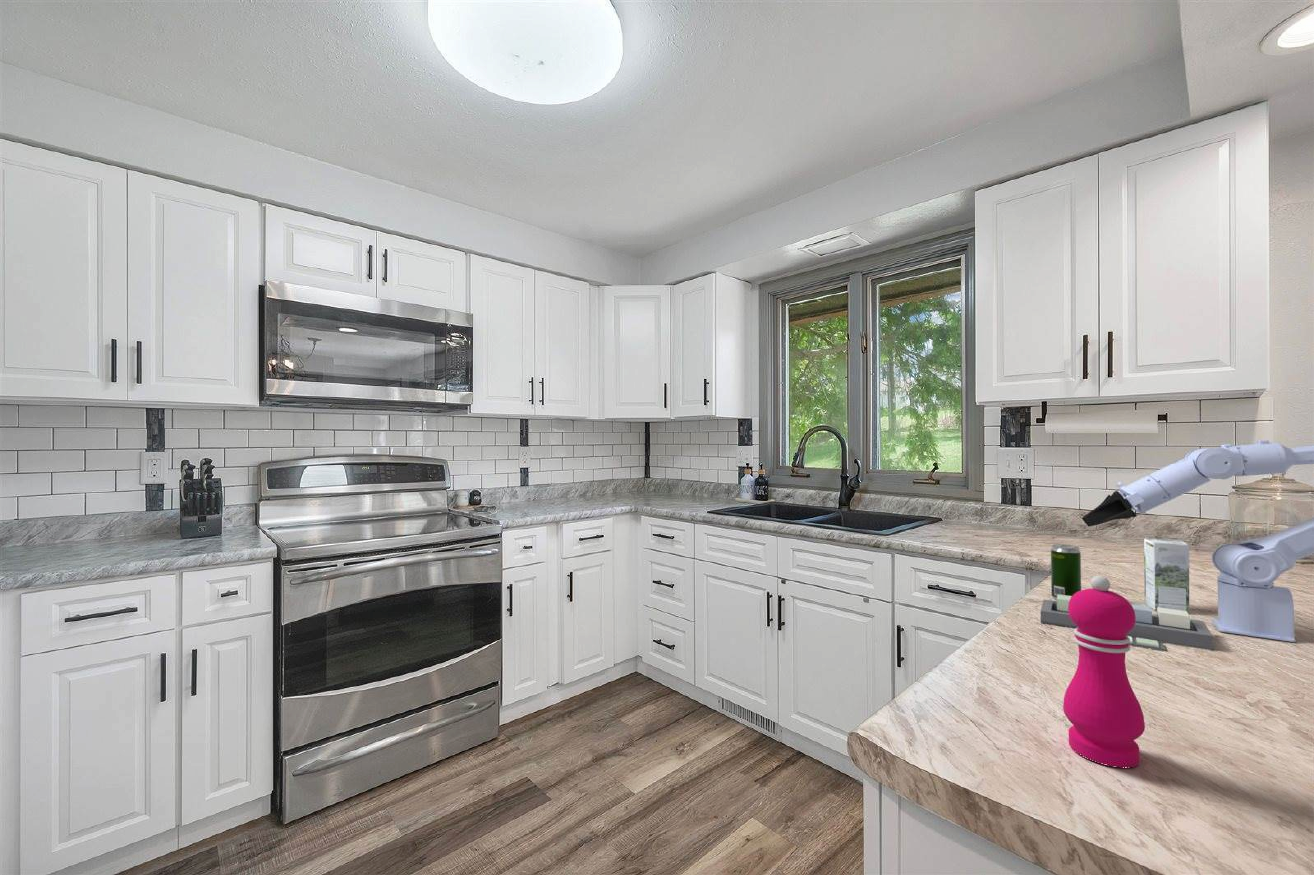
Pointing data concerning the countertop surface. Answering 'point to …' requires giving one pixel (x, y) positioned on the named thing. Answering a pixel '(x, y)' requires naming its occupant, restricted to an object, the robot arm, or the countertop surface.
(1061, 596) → the key sage
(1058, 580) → the beer can
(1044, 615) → the grey shallow tray
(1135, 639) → the strip
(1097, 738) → the pepper mill
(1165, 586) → the syrup box
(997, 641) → the countertop surface
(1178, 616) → the key cream
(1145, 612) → the key slate
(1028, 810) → the countertop surface
